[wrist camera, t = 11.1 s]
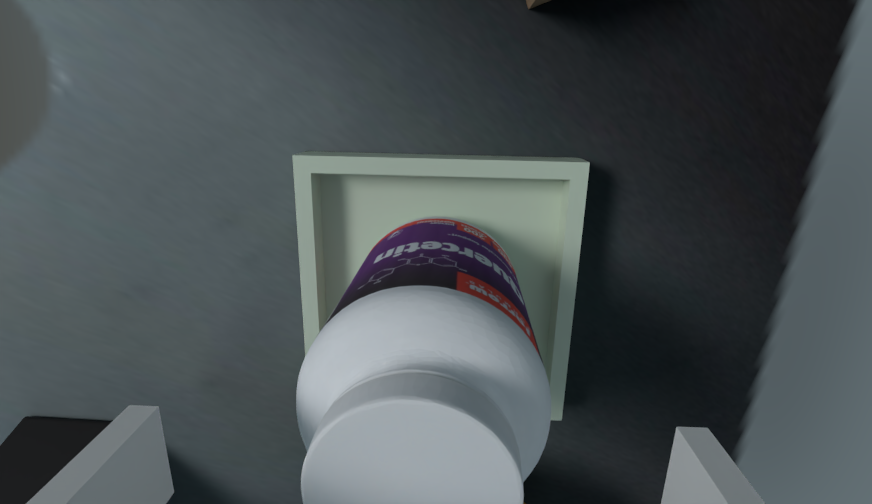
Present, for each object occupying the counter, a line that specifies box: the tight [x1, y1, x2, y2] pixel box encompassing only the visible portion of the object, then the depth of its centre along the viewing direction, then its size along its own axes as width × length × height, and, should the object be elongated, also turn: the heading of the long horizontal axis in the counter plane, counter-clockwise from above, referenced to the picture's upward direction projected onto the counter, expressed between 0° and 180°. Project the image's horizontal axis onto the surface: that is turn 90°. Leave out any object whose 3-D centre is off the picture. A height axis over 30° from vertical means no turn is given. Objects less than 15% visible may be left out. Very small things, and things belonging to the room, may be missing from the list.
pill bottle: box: [296, 216, 551, 504], centre depth 19 cm, size 8×8×14 cm
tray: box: [293, 151, 590, 420], centre depth 25 cm, size 14×14×2 cm
